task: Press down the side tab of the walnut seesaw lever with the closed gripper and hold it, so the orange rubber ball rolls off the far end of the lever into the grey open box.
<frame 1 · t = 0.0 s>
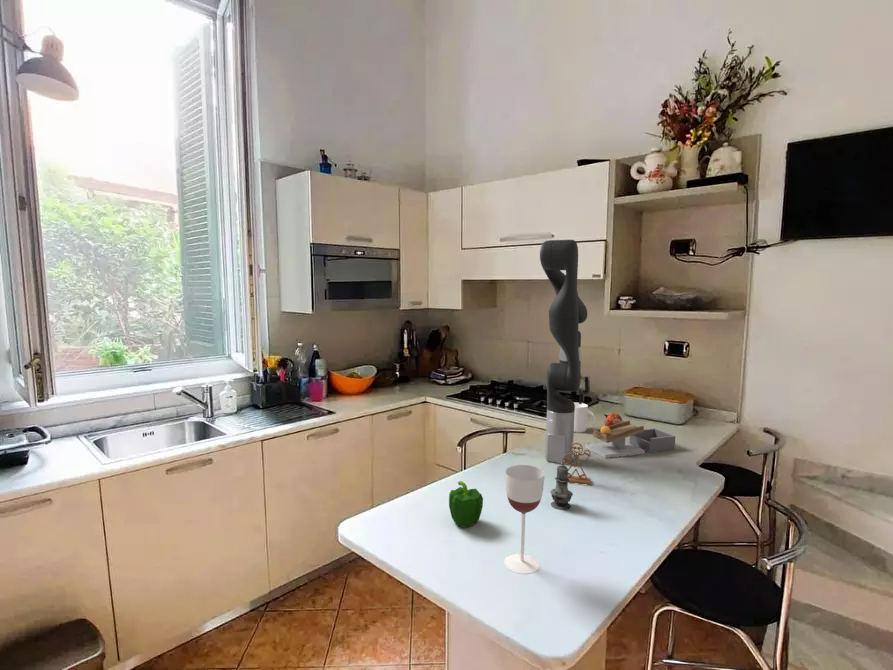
hand: (568, 402, 178), 17 cm above the countertop, tool pointing down, fingers open, 8 cm apart
mug: (580, 431, 203), on the countertop
grey open box: (651, 446, 184), on the countertop
lever base: (617, 450, 179), on the countertop
salt shaker: (560, 506, 132), on the countertop
gingerbread man figurine: (575, 481, 149), on the countertop
lever: (612, 428, 181), point 7 cm above the countertop, hinge at -10.0°, touching ball
bell pepper: (465, 523, 122), on the countertop
wineglass: (521, 564, 104), on the countertop
pomegranate: (613, 430, 205), on the countertop
ball: (605, 430, 176), point 8 cm above the countertop, touching lever
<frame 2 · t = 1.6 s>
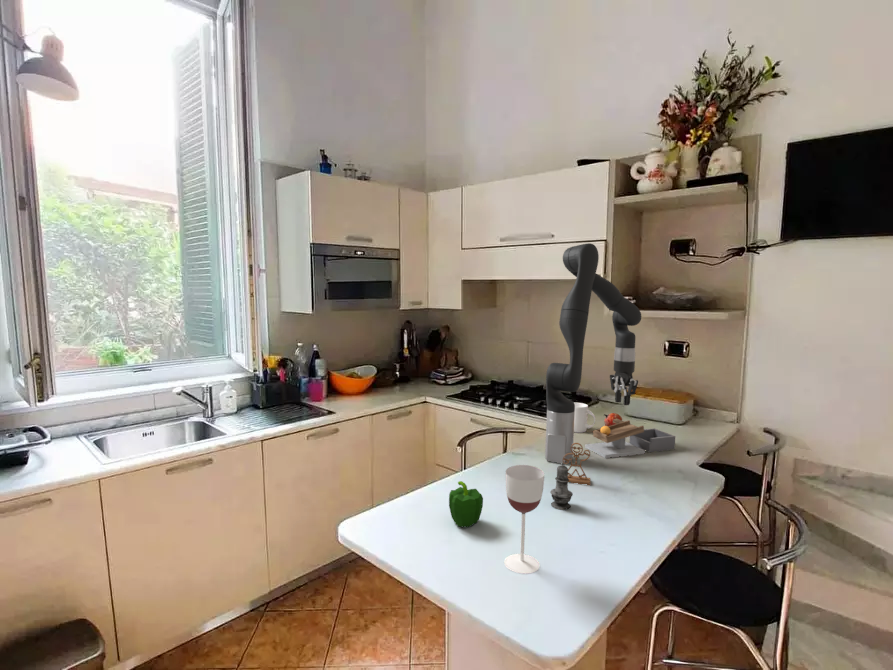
hand: (622, 403, 187), 15 cm above the countertop, tool pointing down, fingers open, 4 cm apart
nothing on the countertop moved.
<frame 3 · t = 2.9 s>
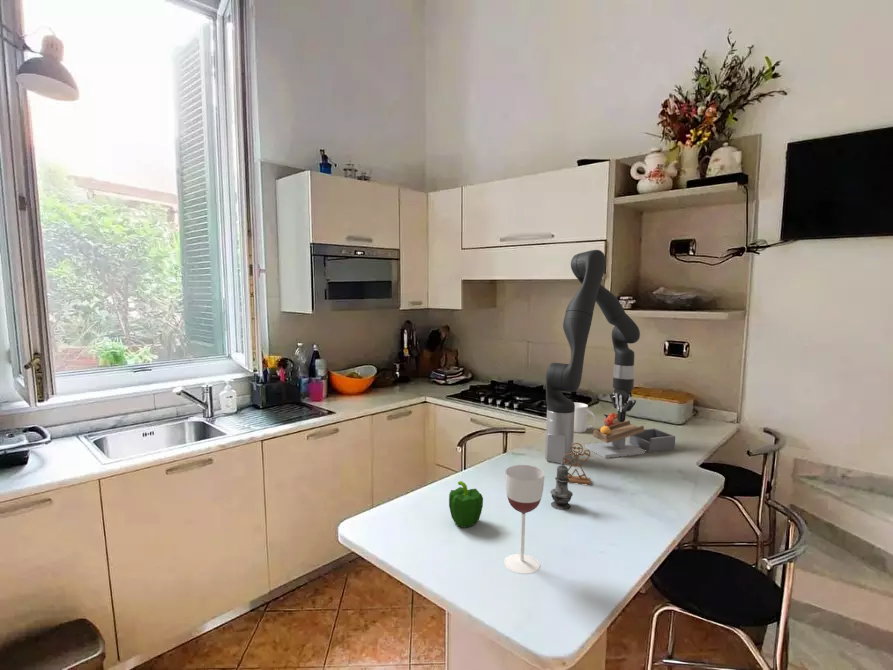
hand: (621, 420, 187), 8 cm above the countertop, tool pointing down, fingers closed
lever: (612, 428, 181), point 7 cm above the countertop, hinge at -10.0°, touching ball, gripper
everything else where it was.
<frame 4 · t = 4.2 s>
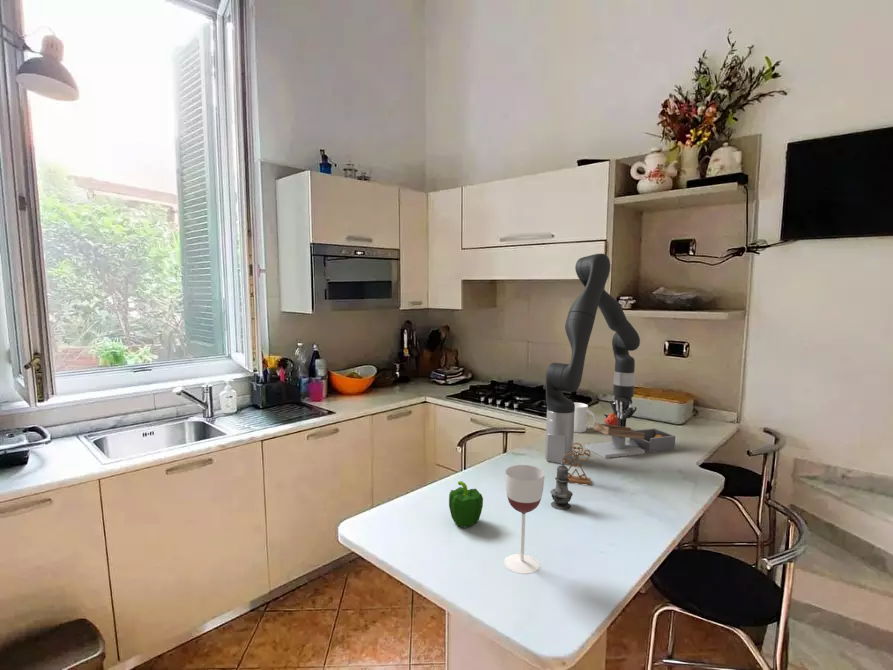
hand: (621, 427, 188), 6 cm above the countertop, tool pointing down, fingers closed
lever: (613, 428, 181), point 7 cm above the countertop, hinge at 10.7°, touching gripper
ball: (658, 439, 184), point 2 cm above the countertop, tilted 97°
everything else where it was.
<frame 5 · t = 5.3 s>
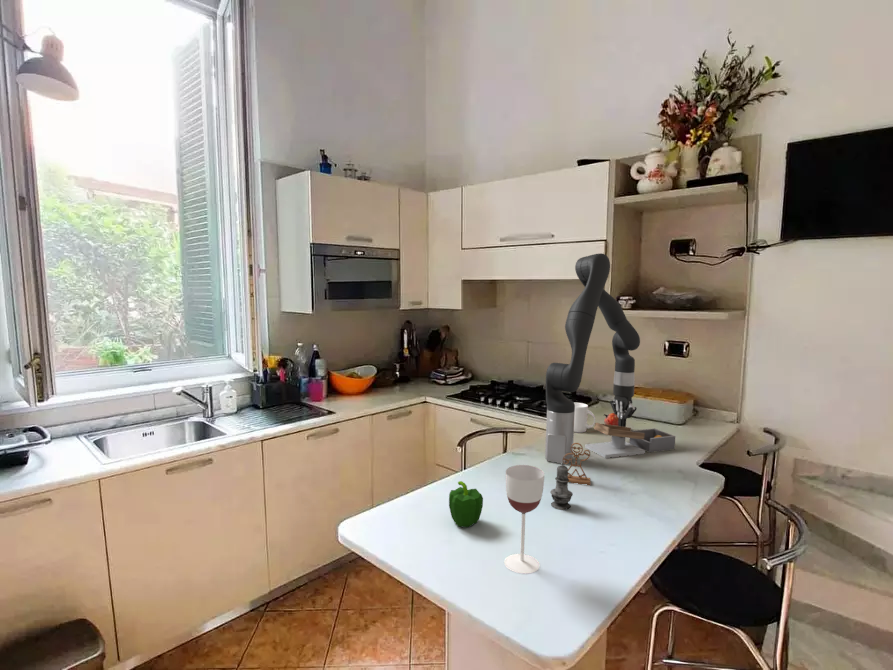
hand: (621, 427, 188), 6 cm above the countertop, tool pointing down, fingers closed
lever: (613, 428, 181), point 7 cm above the countertop, hinge at 10.7°
ball: (658, 439, 184), point 2 cm above the countertop, tilted 106°, touching grey open box
everything else where it was.
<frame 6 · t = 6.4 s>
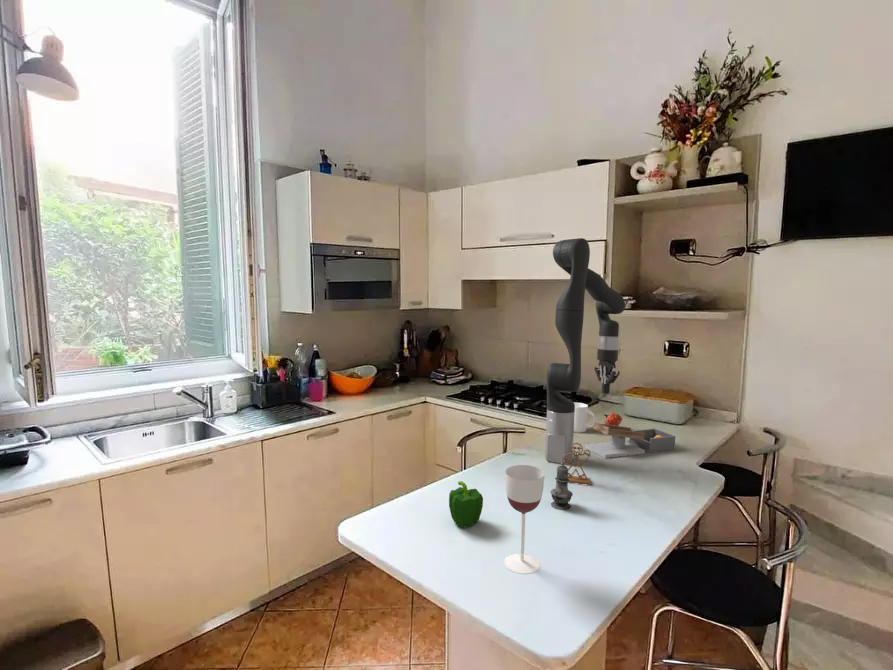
hand: (605, 393, 186), 19 cm above the countertop, tool pointing down, fingers closed
nothing on the countertop moved.
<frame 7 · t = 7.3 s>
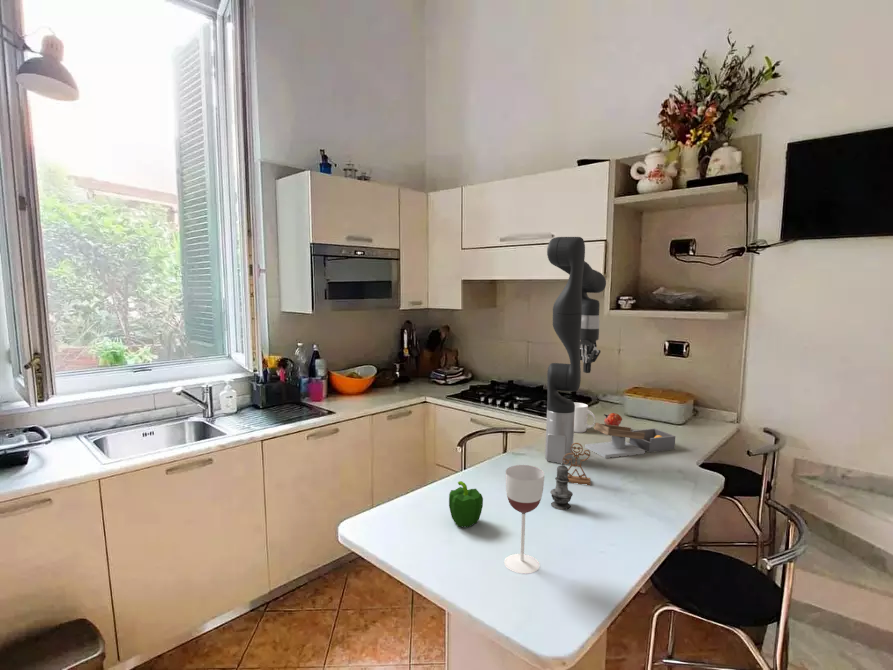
hand: (586, 372, 185), 27 cm above the countertop, tool pointing down, fingers closed
nothing on the countertop moved.
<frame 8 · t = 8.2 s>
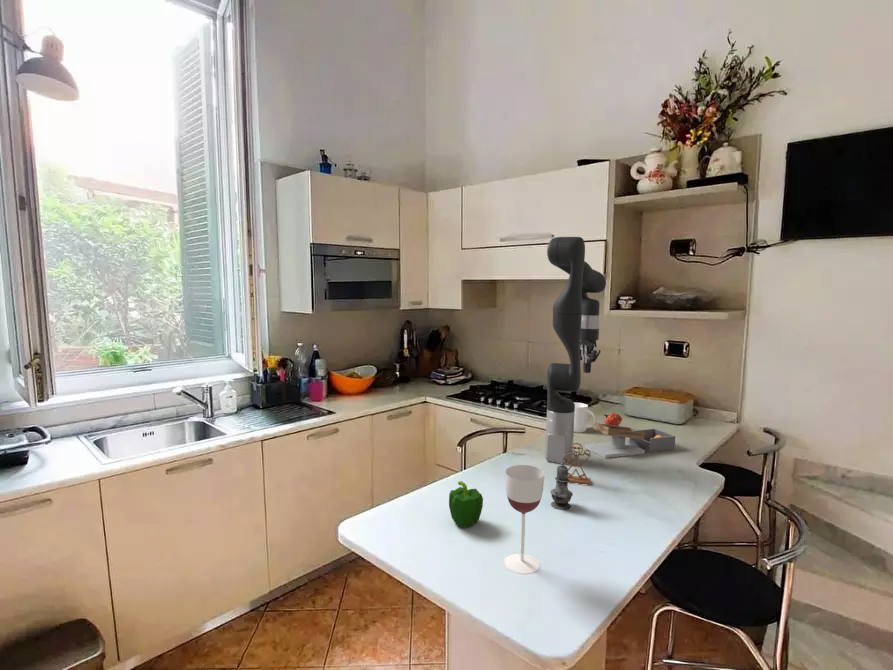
hand: (586, 372, 185), 27 cm above the countertop, tool pointing down, fingers closed
nothing on the countertop moved.
at the end: ball inside the target area on the grey open box (3.3 cm from its centre), point 2.2 cm above the grey open box's base; lever at +11° (first picture: -10°) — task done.
